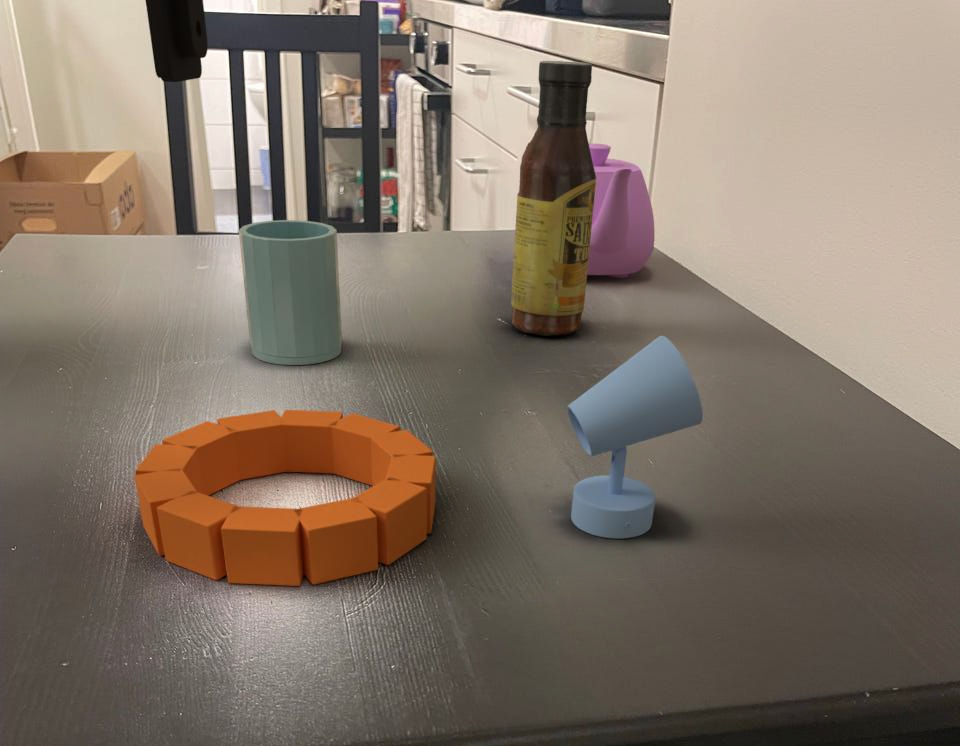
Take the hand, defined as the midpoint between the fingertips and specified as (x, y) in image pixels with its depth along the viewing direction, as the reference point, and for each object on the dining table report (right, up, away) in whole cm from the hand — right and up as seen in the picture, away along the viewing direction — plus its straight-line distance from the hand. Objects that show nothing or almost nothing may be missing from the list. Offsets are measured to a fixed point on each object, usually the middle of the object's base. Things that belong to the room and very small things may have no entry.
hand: (69, 74), depth 40 cm
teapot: (+28, +15, +61) cm, 69 cm away
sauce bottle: (+23, +3, +44) cm, 49 cm away
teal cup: (+3, -1, +36) cm, 36 cm away
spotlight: (+25, -17, +14) cm, 33 cm away
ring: (+7, -17, +13) cm, 22 cm away
